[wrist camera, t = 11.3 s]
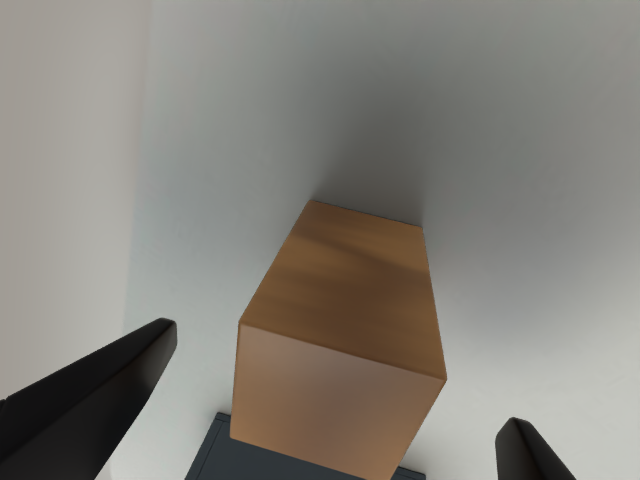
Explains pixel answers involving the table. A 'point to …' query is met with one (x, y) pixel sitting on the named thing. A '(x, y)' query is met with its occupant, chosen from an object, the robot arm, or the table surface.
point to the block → (340, 345)
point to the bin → (260, 461)
